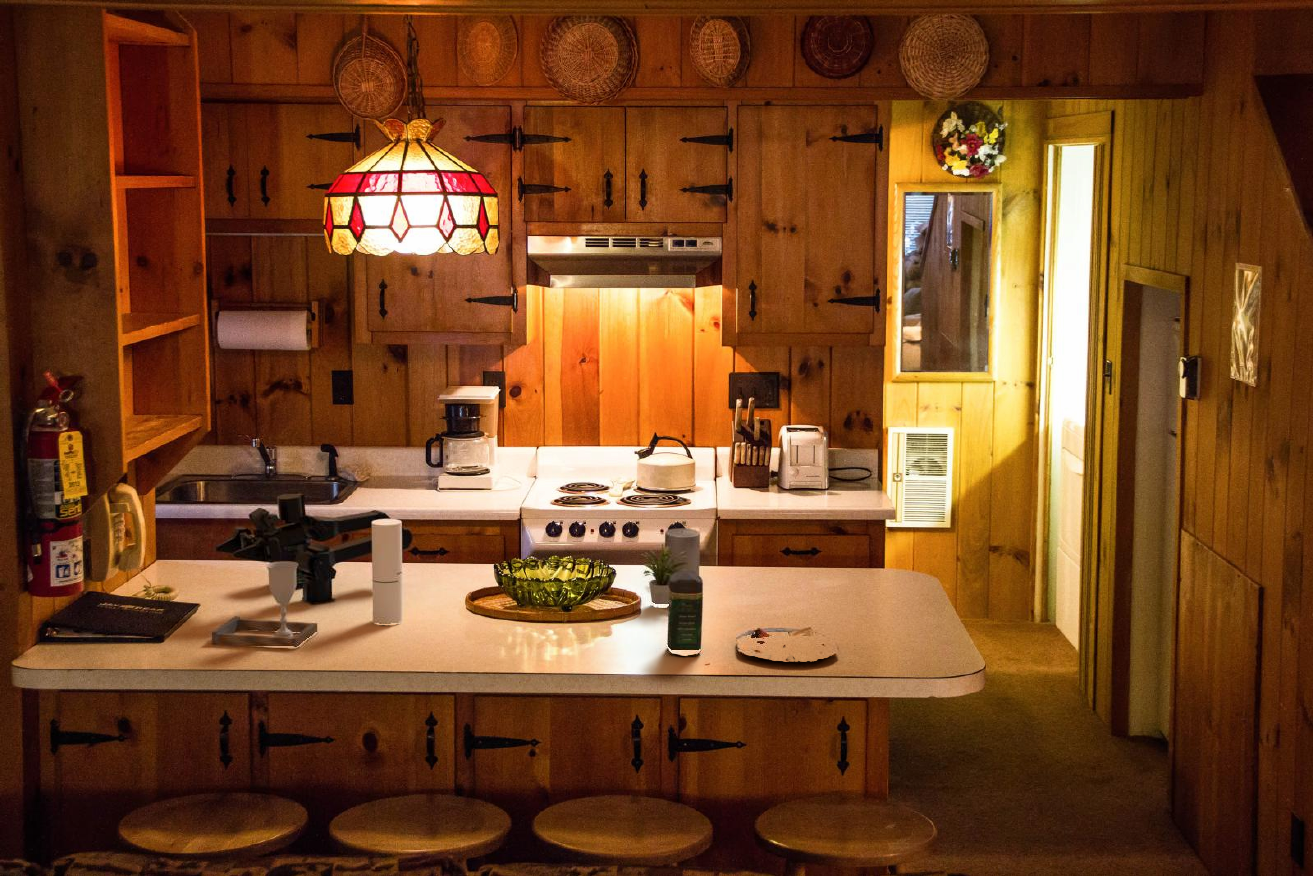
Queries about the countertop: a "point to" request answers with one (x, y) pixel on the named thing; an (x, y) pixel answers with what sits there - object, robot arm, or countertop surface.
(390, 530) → the cylindrical container
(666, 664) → the countertop surface
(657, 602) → the house plant
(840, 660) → the countertop surface
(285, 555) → the storage jar
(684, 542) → the pillar candle
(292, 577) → the chalice
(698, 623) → the coffee jar
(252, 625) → the rectangular frame
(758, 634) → the food plate
